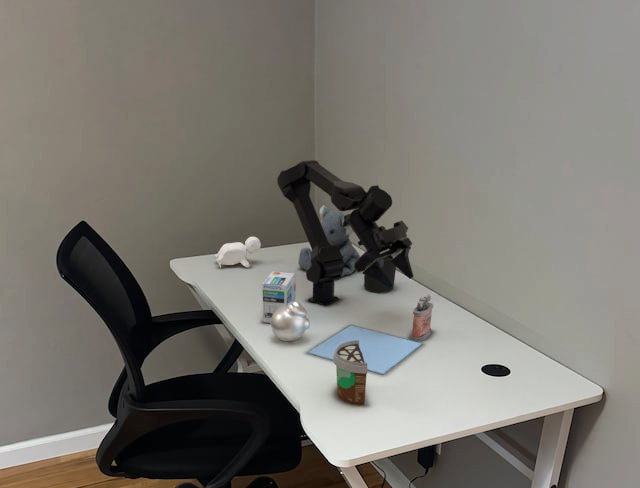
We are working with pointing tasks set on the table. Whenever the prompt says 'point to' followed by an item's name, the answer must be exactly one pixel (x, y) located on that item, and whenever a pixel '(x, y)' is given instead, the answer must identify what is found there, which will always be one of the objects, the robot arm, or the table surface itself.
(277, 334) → the silver rounded lump
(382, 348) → the blue square mat
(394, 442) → the table surface
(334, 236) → the koala plush
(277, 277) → the light bulb box
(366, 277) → the pen holder
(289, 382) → the table surface
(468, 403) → the table surface
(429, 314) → the lighter
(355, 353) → the food container
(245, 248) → the white turtle figurine
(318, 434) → the table surface
